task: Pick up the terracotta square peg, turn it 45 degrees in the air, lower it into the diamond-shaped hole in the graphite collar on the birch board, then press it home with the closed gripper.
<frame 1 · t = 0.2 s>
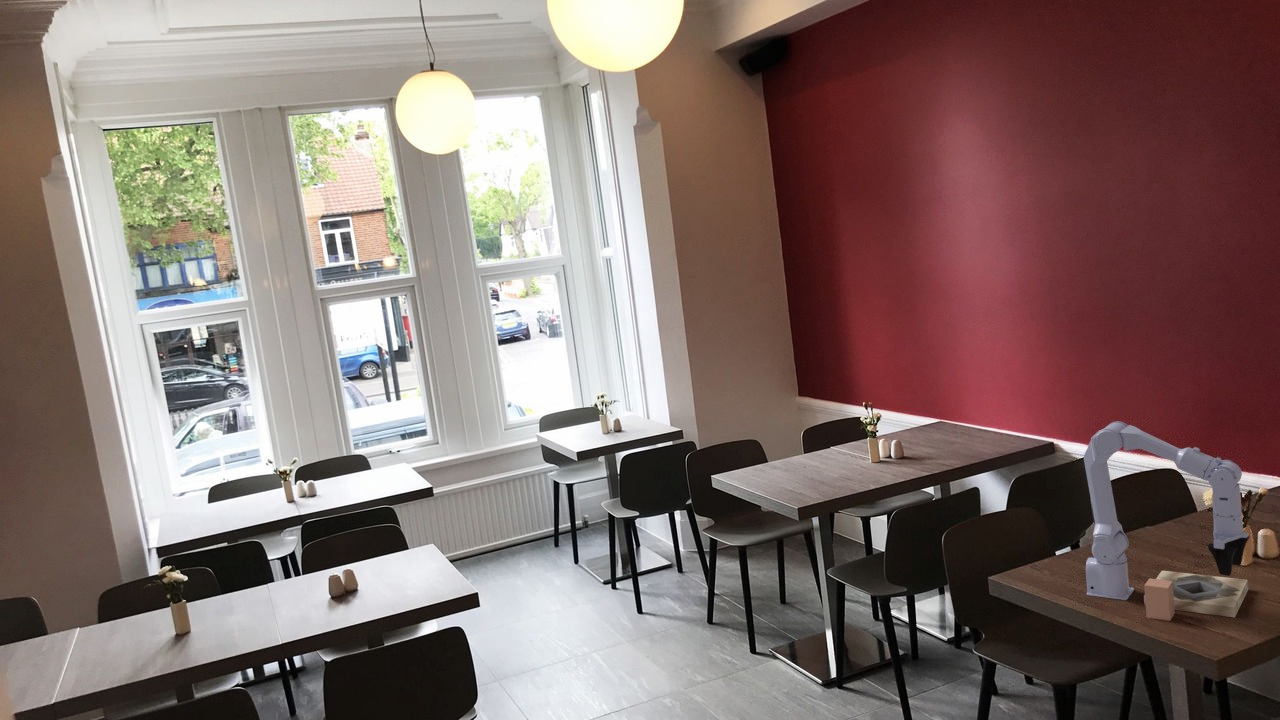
hand: (1230, 569, 225), 10 cm above the table, tool pointing down, fingers open, 7 cm apart
peg: (1160, 615, 227), on the table
socket board: (1196, 597, 235), on the table
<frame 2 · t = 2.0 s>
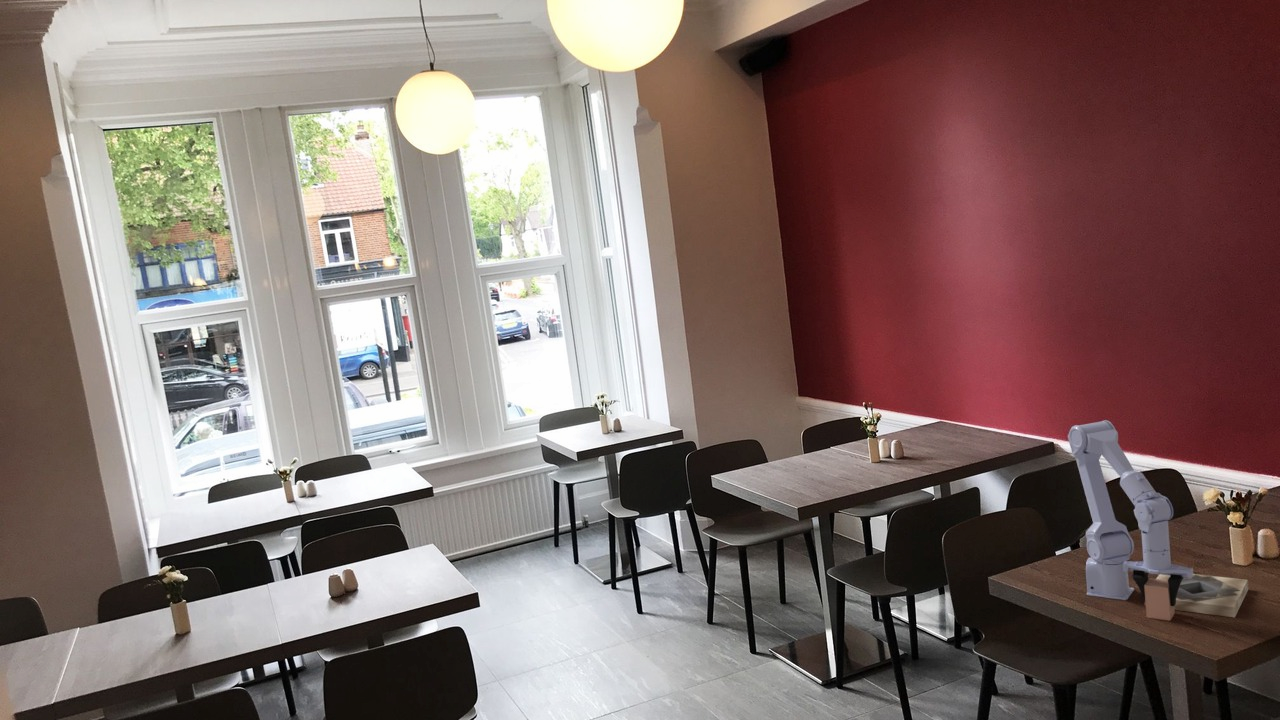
hand: (1159, 603, 227), 3 cm above the table, tool pointing down, fingers closed on peg, 5 cm apart
peg: (1160, 615, 227), on the table, touching gripper
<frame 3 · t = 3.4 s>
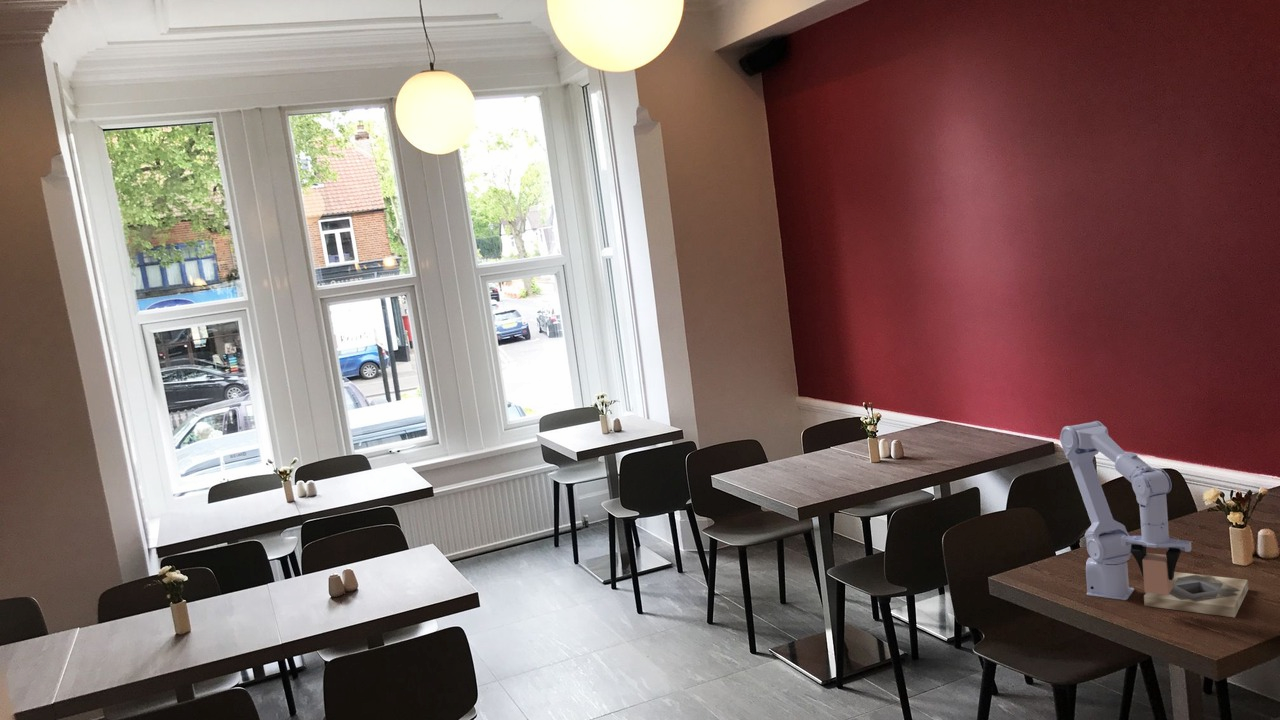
hand: (1157, 577, 226), 9 cm above the table, tool pointing down, fingers closed on peg, 5 cm apart
peg: (1158, 589, 227), point 6 cm above the table, touching gripper
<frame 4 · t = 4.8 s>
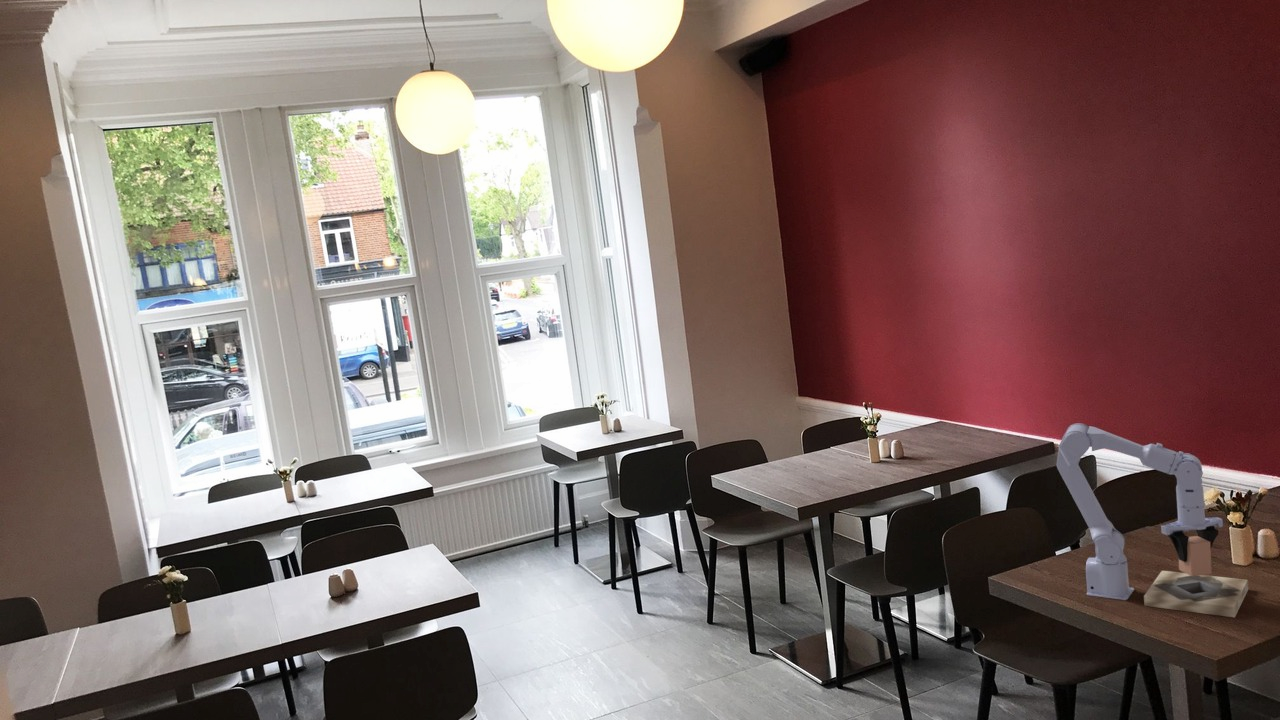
hand: (1194, 558, 234), 10 cm above the table, tool pointing down, fingers closed on peg, 5 cm apart
peg: (1195, 571, 234), point 7 cm above the table, touching gripper
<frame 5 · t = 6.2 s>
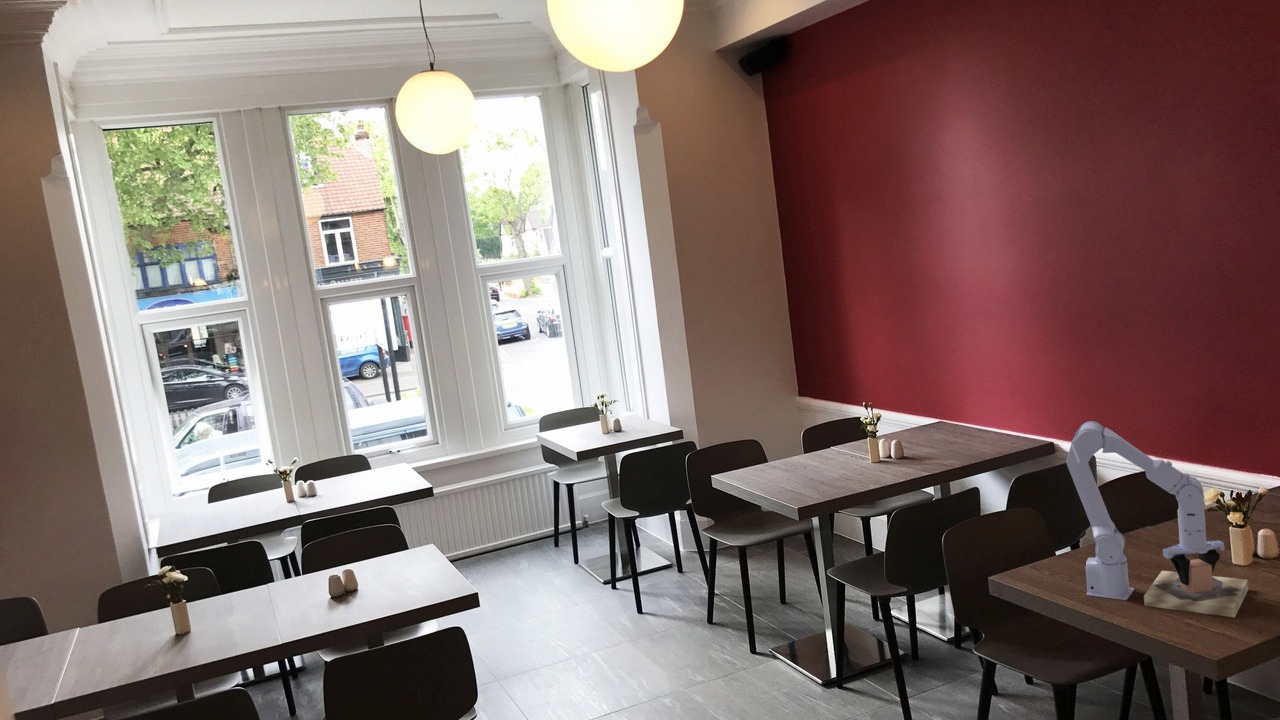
hand: (1195, 582, 234), 4 cm above the table, tool pointing down, fingers closed on peg, 5 cm apart
peg: (1196, 594, 234), point 1 cm above the table, touching gripper
when the fingers open (4 cm above the table, at t = 7.5 s): peg stays where it is, resting in socket board.
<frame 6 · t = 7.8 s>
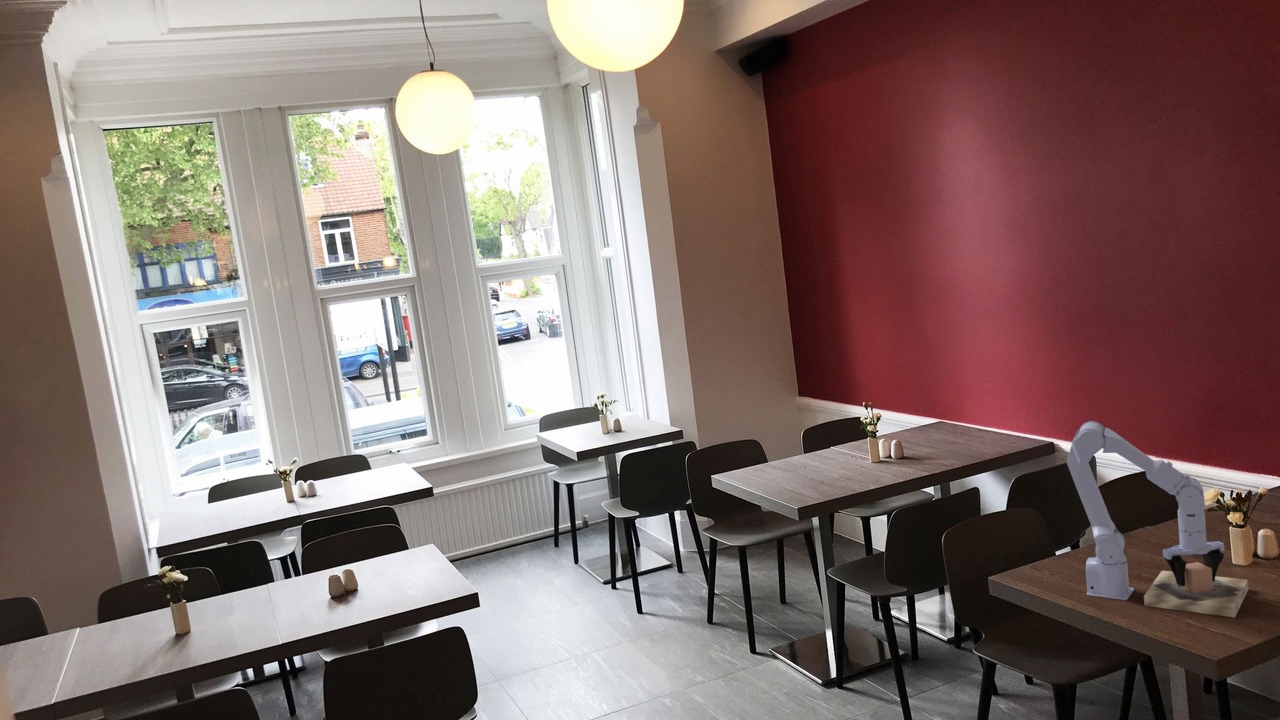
hand: (1195, 582, 234), 4 cm above the table, tool pointing down, fingers open, 7 cm apart
peg: (1197, 598, 234), resting in socket board
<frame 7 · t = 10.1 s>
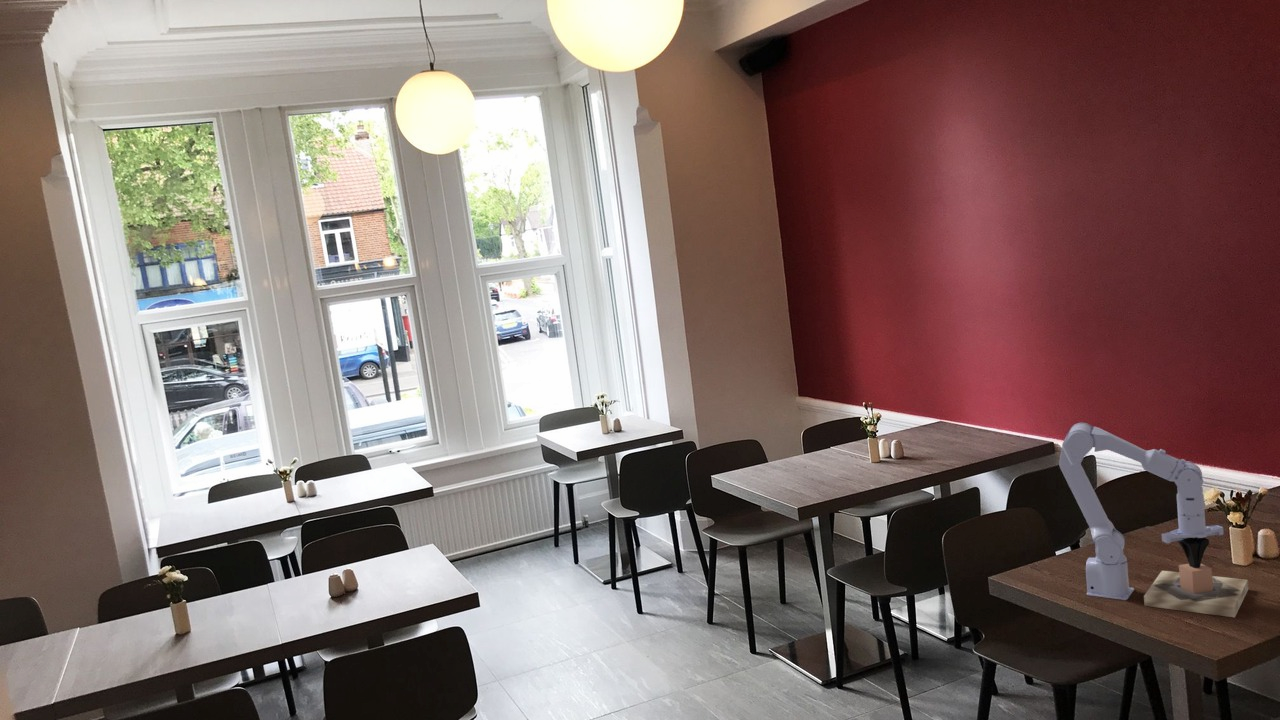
hand: (1194, 566, 234), 8 cm above the table, tool pointing down, fingers closed, pressing on peg
peg: (1197, 598, 234), resting in socket board, touching gripper
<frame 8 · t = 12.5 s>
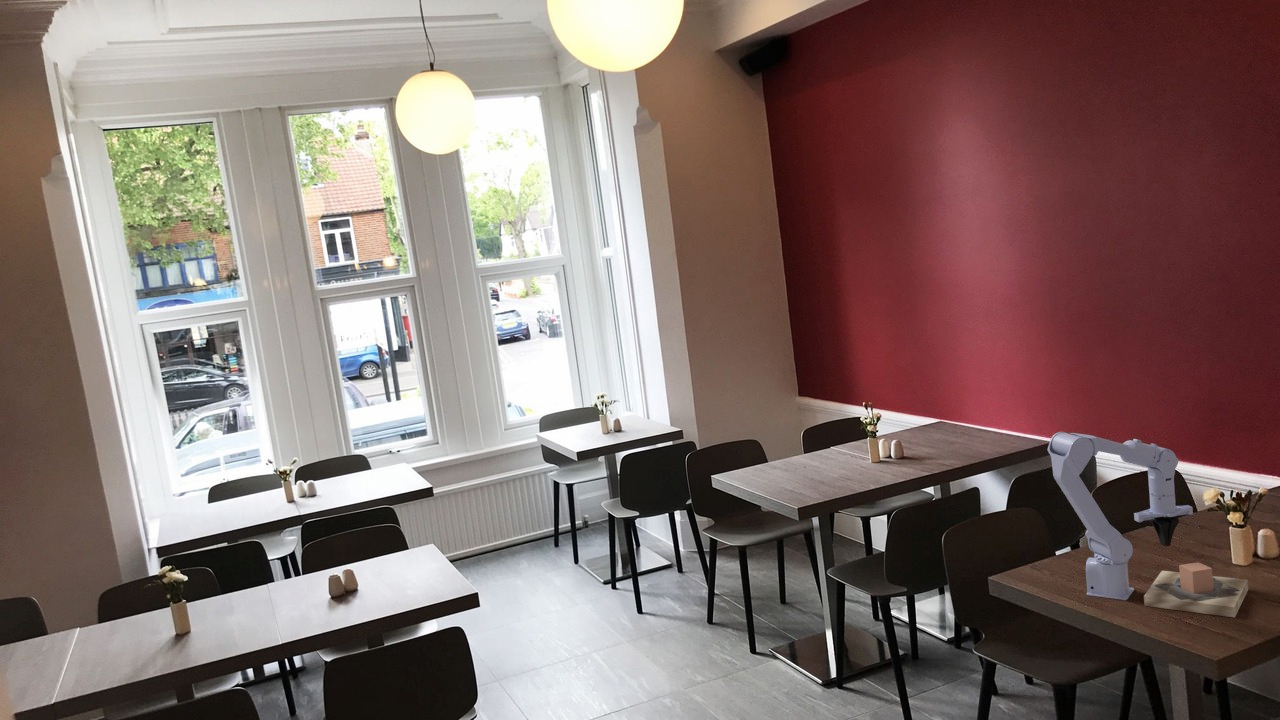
hand: (1165, 544, 245), 10 cm above the table, tool pointing down, fingers closed
peg: (1197, 598, 234), resting in socket board
at the end: peg 0.3 cm off-centre on the socket board, point 0.0 cm above the socket board's base; peg tilted 0°; the gripper is holding nothing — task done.
